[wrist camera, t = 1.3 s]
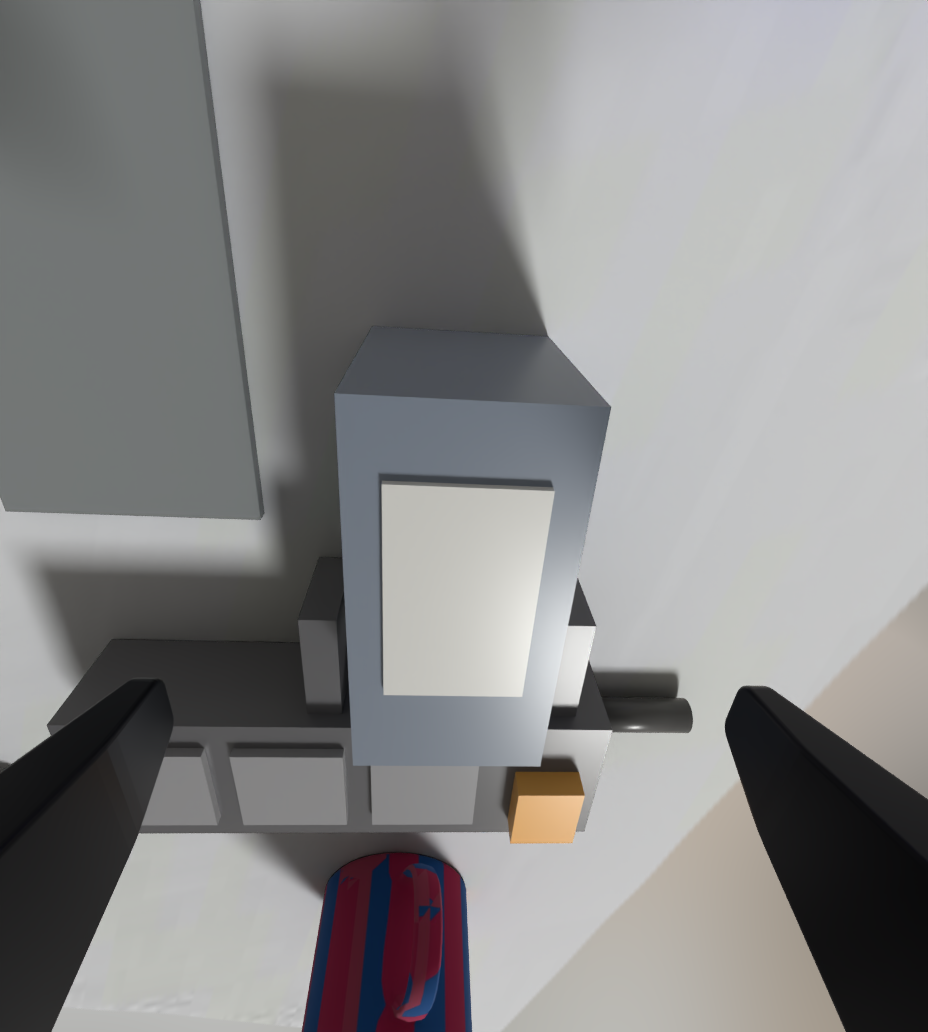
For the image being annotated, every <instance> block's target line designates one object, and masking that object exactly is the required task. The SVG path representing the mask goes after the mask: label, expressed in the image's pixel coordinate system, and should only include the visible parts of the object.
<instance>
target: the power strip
mask: <svg viewBox="0 0 928 1032" xmlns="http://www.w3.org/2000/svg"><path fill="white" fill-rule="evenodd" d="M298 627H299V637H300V643H270V642H217V641H164V640H111V641H110V643H109V644H108V645H107V647H106V648H105V649H104V651H103V652H102V653H101V655H100V656H99V657H98V658H97V660H96V661H95V662H94V664H93V665H92V666H91V668H90V669H89V670H88V672H87V673H86V674H85V676H84V677H83V678H82V680H81V681H80V682H79V683H78V685H77V686H76V687H75V689H74V690H73V691H72V693H71V694H70V695H69V697H68V698H67V699H66V701H65V702H64V703H63V705H62V706H61V707H60V708H59V710H58V711H57V712H56V714H55V715H54V716H53V718H52V719H51V720H50V722H49V723H48V724H47V727H48V729H49V732H50V734H51V735H53V734H54V733H56V732H57V731H58V730H60V729H61V728H63V727H64V726H65V725H67V724H68V723H69V722H71V721H72V720H74V719H75V718H76V717H78V716H79V715H81V714H82V713H83V712H85V711H86V710H88V709H89V708H90V707H92V706H93V705H95V704H96V703H97V702H99V701H100V700H102V699H103V698H104V697H106V696H107V695H108V694H110V693H111V692H113V691H114V690H115V689H117V688H118V687H120V686H121V685H122V684H124V683H125V682H127V681H128V680H130V679H132V678H160V679H162V680H163V681H164V683H165V685H166V689H167V693H168V696H169V700H170V704H171V708H172V711H173V716H174V725H173V731H172V734H171V737H170V740H169V743H168V746H167V749H166V752H165V755H164V759H163V762H162V765H161V768H160V771H159V774H158V777H157V780H156V783H155V786H154V789H153V792H152V795H151V798H150V801H149V805H148V808H147V811H146V814H145V817H144V820H143V822H142V825H141V828H140V831H139V833H355V832H509V836H510V843H572V842H573V839H574V835H575V832H584V831H585V827H586V824H587V820H588V816H589V813H590V809H591V806H592V802H593V798H594V795H595V791H596V788H597V784H598V781H599V777H600V773H601V770H602V766H603V763H604V759H605V756H606V752H607V748H608V745H609V741H610V738H611V734H612V732H636V733H689V732H690V731H691V728H692V724H693V716H692V711H691V707H690V705H689V703H688V701H687V700H686V699H684V698H627V697H601V695H600V692H599V689H598V686H597V683H596V680H595V677H594V674H593V671H592V668H591V665H590V662H589V656H590V652H591V647H592V643H593V638H594V634H595V630H596V624H595V622H594V619H593V617H592V614H591V611H590V609H589V606H588V604H587V601H586V598H585V596H584V593H583V591H582V588H581V585H580V583H579V580H578V578H577V583H576V588H575V593H574V598H573V603H572V608H571V613H570V618H569V623H568V628H567V633H566V638H565V643H564V648H563V654H562V659H561V664H560V669H559V674H558V679H557V684H556V689H555V694H554V699H553V704H552V709H551V714H550V719H549V724H548V730H547V735H546V740H545V745H544V750H543V755H542V760H541V765H540V767H539V766H353V756H352V737H351V717H350V697H349V677H348V657H347V637H346V617H345V598H344V578H343V558H323V557H319V559H318V562H317V565H316V568H315V571H314V574H313V577H312V580H311V583H310V586H309V588H308V591H307V594H306V597H305V600H304V603H303V606H302V609H301V612H300V615H299V618H298Z"/></svg>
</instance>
